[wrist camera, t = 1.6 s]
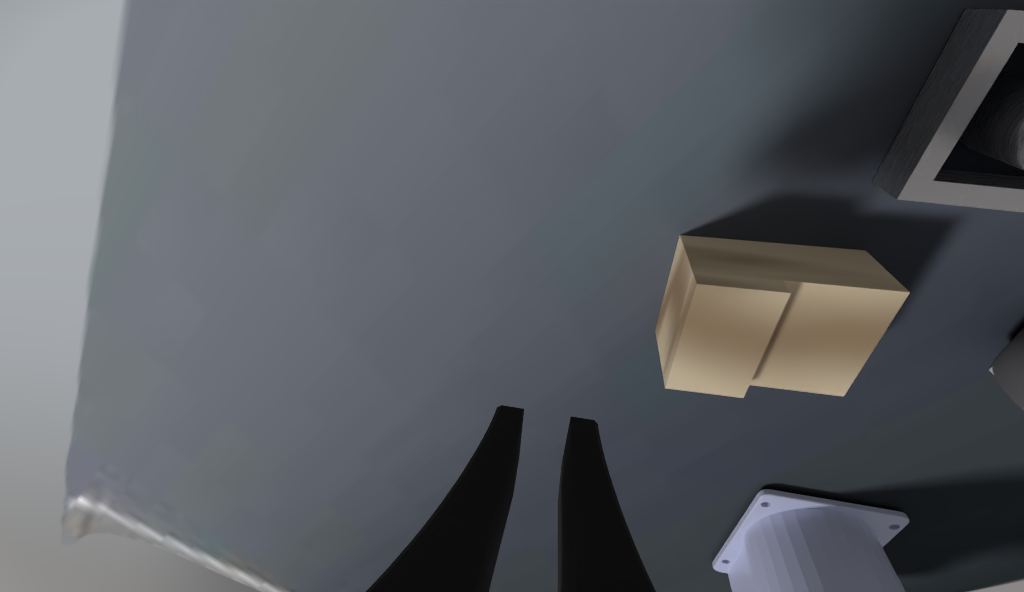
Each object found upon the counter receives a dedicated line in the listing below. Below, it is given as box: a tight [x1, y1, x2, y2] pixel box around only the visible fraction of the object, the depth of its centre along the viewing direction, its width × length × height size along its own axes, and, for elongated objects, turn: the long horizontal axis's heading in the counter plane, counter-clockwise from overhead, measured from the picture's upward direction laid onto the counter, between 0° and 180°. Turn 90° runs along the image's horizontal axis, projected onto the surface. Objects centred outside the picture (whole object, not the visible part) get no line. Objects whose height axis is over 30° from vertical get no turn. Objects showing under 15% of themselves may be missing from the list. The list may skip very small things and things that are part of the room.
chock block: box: [655, 235, 910, 398], centre depth 17 cm, size 5×7×4 cm
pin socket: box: [872, 9, 1024, 212], centre depth 13 cm, size 5×5×2 cm
